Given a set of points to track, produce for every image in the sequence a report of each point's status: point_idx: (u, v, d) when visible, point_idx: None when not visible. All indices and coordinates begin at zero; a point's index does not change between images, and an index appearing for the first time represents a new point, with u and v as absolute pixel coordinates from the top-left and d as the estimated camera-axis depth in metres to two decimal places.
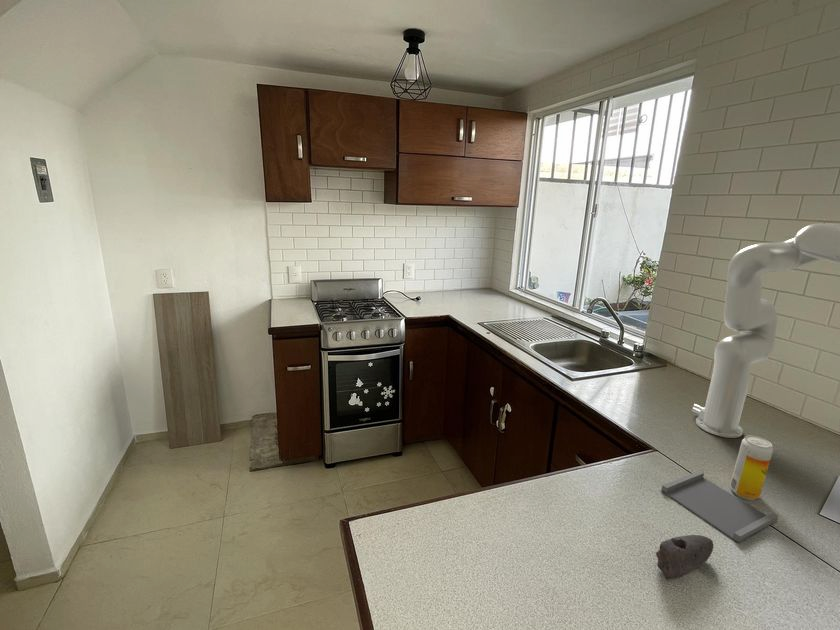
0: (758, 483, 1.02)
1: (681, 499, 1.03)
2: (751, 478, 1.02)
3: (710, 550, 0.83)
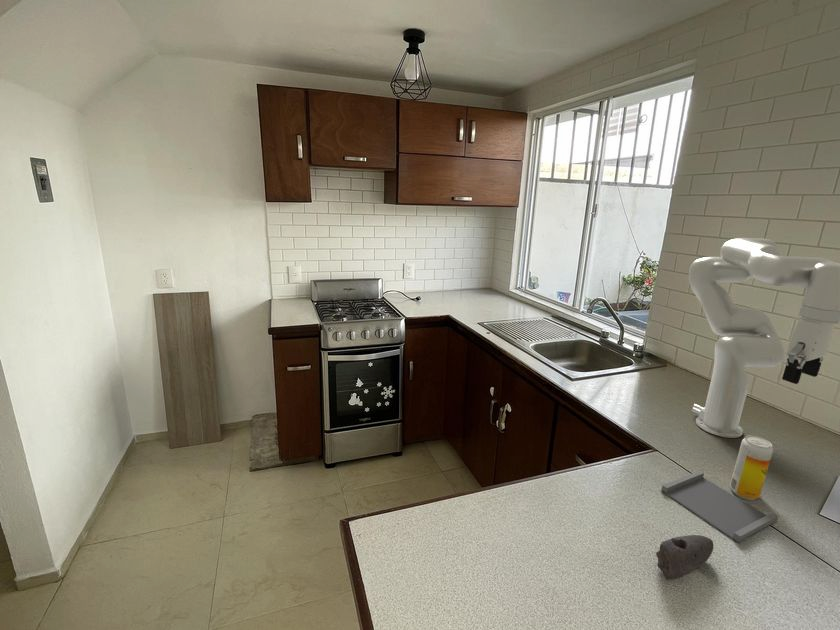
0: (758, 483, 1.02)
1: (681, 499, 1.03)
2: (751, 478, 1.02)
3: (710, 550, 0.83)
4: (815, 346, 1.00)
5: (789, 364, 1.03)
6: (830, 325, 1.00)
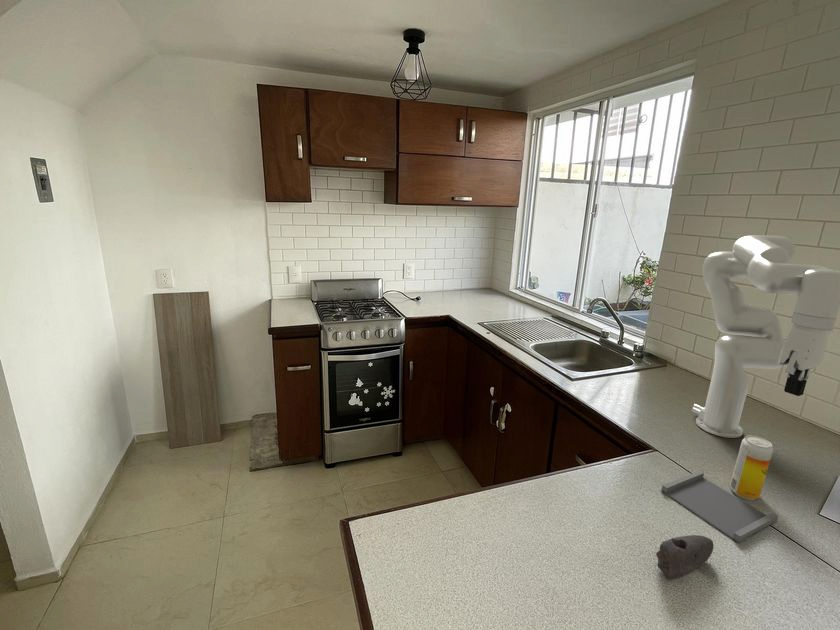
0: (758, 483, 1.02)
1: (681, 499, 1.03)
2: (751, 478, 1.02)
3: (710, 550, 0.83)
4: (808, 355, 0.97)
5: (790, 375, 1.01)
6: (823, 333, 0.97)
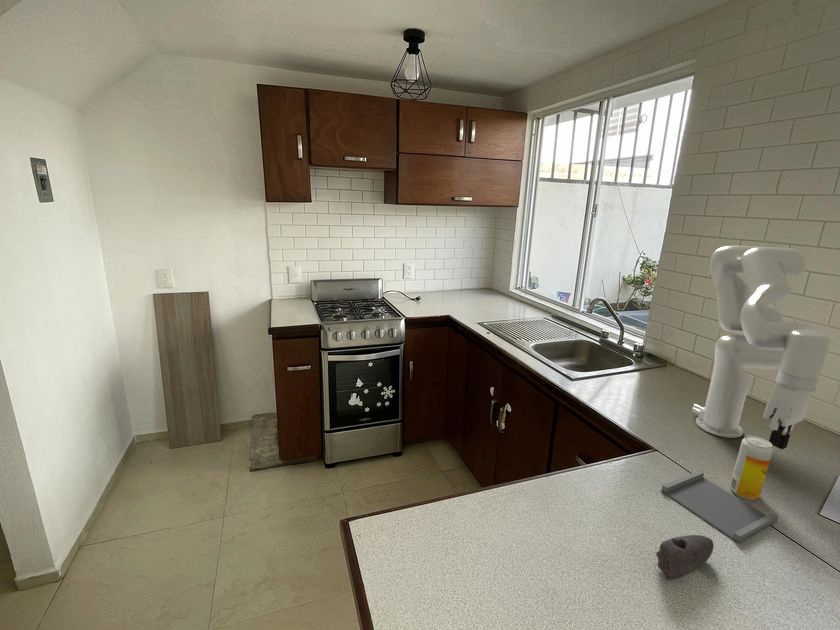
0: (758, 483, 1.02)
1: (681, 499, 1.03)
2: (751, 478, 1.02)
3: (710, 550, 0.83)
4: (791, 413, 1.00)
5: (774, 430, 1.05)
6: (806, 392, 1.00)
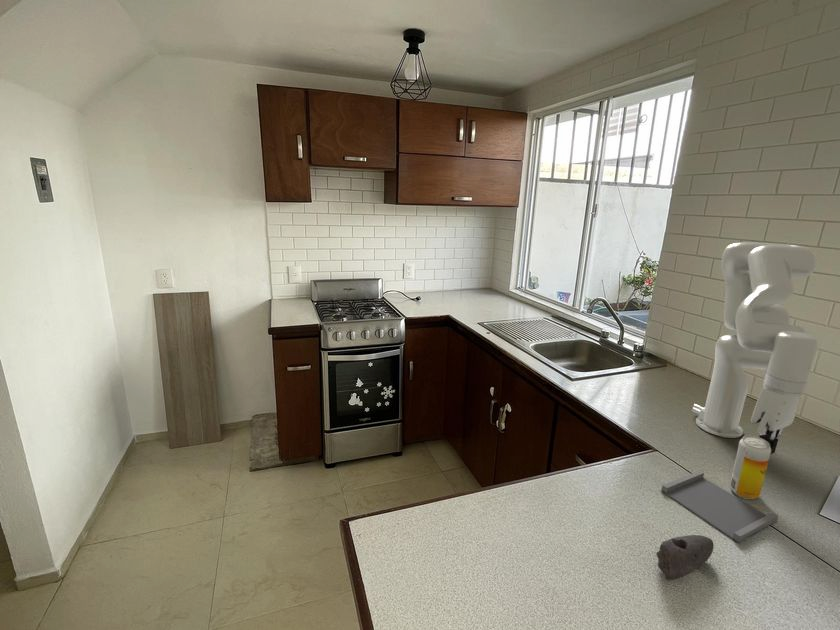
0: (758, 483, 1.01)
1: (681, 499, 1.03)
2: (750, 478, 1.01)
3: (710, 550, 0.83)
4: (779, 417, 0.98)
5: (762, 434, 1.03)
6: (794, 396, 0.98)
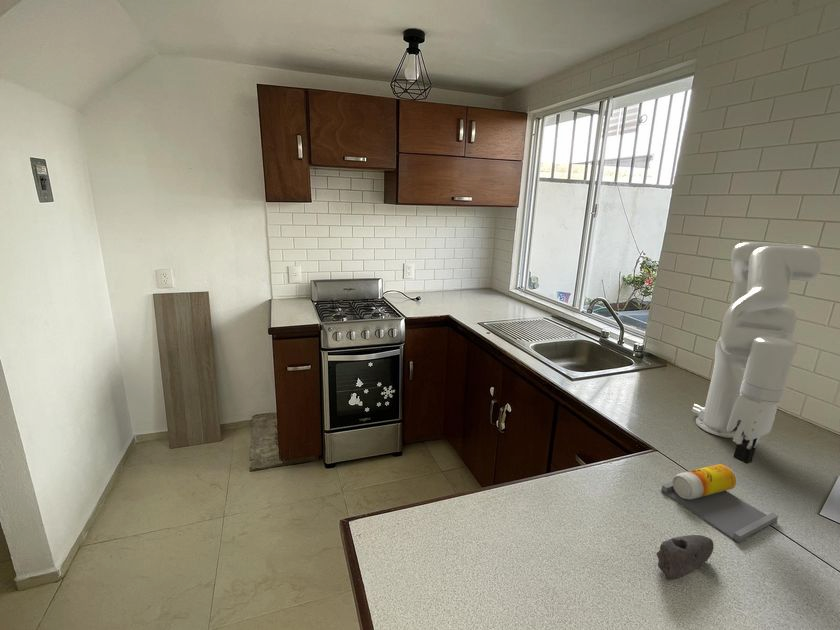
0: (721, 478, 1.03)
1: (681, 499, 1.03)
2: (719, 486, 1.02)
3: (710, 550, 0.83)
4: (755, 426, 0.94)
5: (739, 443, 0.99)
6: (771, 404, 0.94)
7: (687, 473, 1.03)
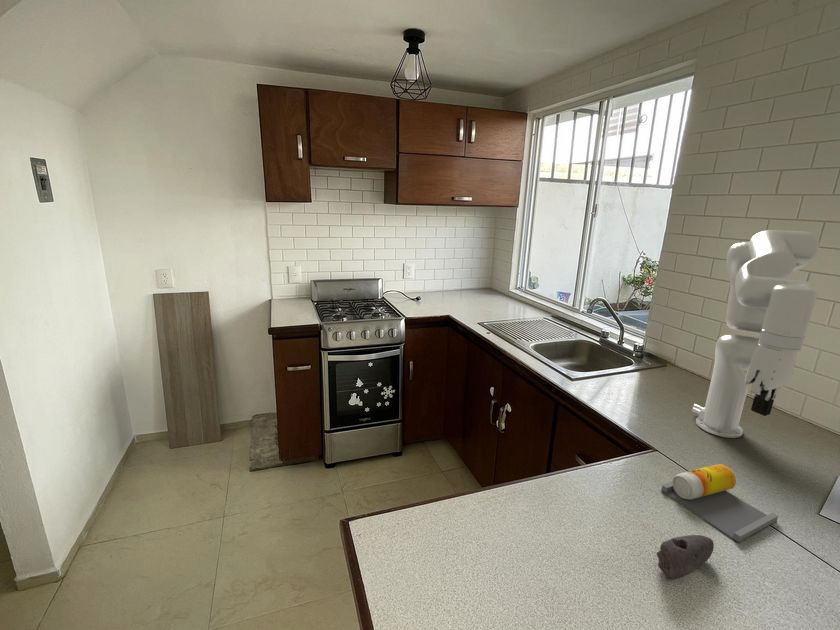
0: (721, 478, 1.03)
1: (681, 499, 1.03)
2: (719, 486, 1.02)
3: (711, 550, 0.83)
4: (774, 375, 0.92)
5: (757, 395, 0.97)
6: (791, 352, 0.92)
7: (687, 473, 1.03)
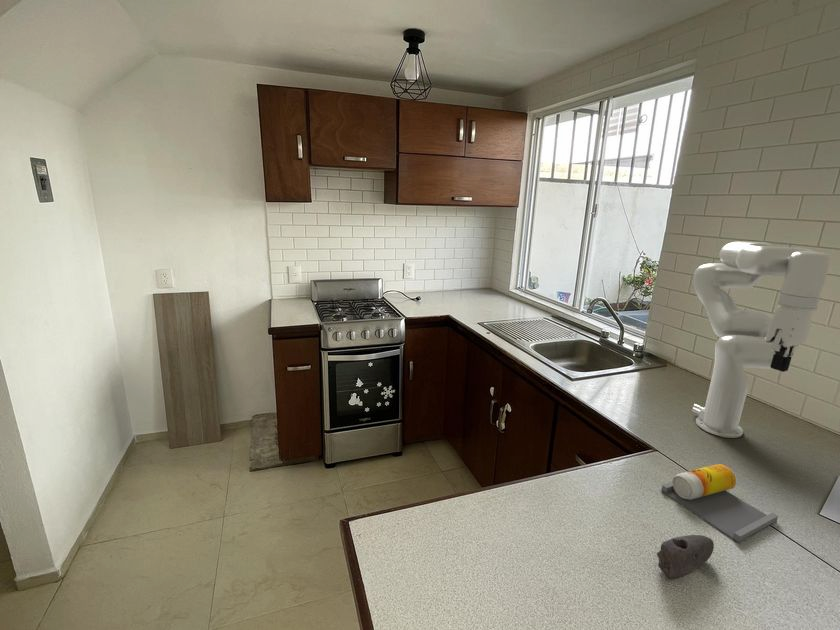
0: (721, 478, 1.03)
1: (681, 499, 1.03)
2: (719, 486, 1.02)
3: (711, 550, 0.83)
4: (792, 332, 1.03)
5: (776, 352, 1.08)
6: (807, 312, 1.03)
7: (687, 473, 1.03)
